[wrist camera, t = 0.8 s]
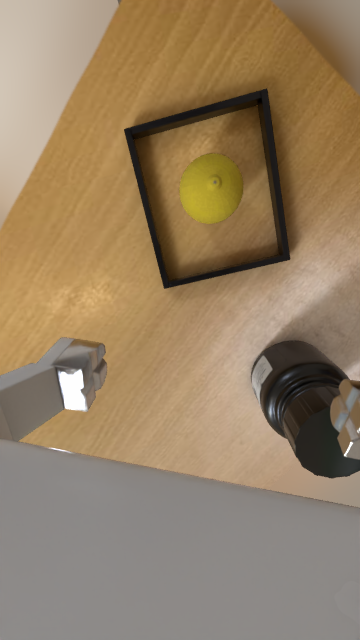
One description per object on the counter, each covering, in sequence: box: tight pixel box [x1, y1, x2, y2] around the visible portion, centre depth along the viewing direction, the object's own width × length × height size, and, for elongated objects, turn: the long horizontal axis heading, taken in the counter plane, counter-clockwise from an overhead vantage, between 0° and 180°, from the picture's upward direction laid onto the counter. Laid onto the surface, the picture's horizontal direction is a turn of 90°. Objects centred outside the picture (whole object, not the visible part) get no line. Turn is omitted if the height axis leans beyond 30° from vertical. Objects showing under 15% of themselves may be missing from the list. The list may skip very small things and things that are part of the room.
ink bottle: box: [251, 341, 360, 478], centre depth 28 cm, size 10×9×12 cm
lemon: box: [179, 153, 243, 224], centre depth 25 cm, size 6×6×8 cm
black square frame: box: [124, 89, 290, 289], centre depth 29 cm, size 15×13×2 cm
